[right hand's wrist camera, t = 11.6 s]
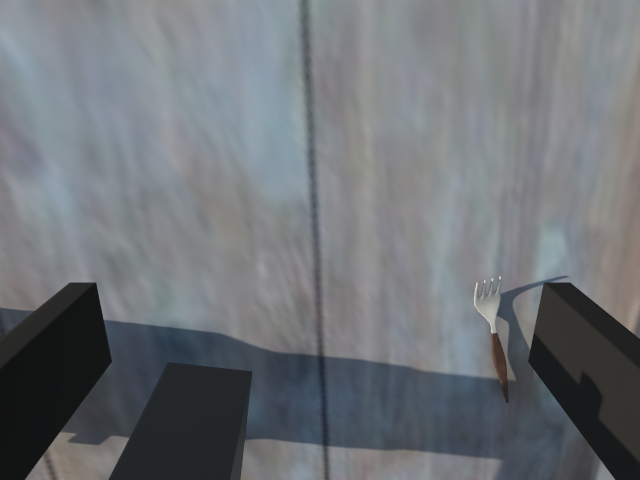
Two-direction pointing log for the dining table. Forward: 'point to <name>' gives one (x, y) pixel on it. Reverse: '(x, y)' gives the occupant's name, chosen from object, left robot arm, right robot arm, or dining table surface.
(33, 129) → the dining table surface
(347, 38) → the dining table surface
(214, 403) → the box
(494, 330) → the fork
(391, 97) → the dining table surface
